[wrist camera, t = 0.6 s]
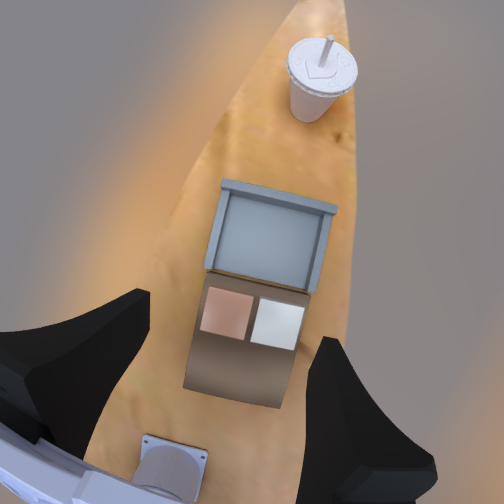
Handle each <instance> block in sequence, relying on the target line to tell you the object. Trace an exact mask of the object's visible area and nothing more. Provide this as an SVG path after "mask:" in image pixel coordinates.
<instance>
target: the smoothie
mask: <svg viewBox="0 0 504 504" xmlns="http://www.w3.org/2000/svg"><path fill="white" fill-rule="evenodd" d="M334 39H335V37H334V36H332V35H328V37H327V39H325V38H307V39H304V40H301V41H299V42H297V43H296V44H295V45H294V46H293V47H292V48H291V50H290V52H289V55H288V58H287V61H286V65H287V71H288V74H289V76H290V110H291V113H292V115H293V116H294V117H295V118H296V119H298V120H299V121H301V122H305V123H311V122H315V121H316V120H318V119H319V118H320V117H321V116H322V115H323V114H324V112H325V111H326V110H327V109H328V108H329V107H330V106H331V105H332V104H333V103H334V102H335V100H336V99H337V98H338V97H339V96H340V95H343V94H345V93H347V92H348V91H349V90H350V89H351V88H352V87H353V85H354V83H355V80H356V78H357V74H358V68H357V64H356V61H355V59H354V57H353V56H352V54H351V53H350V52H349V51H348V50H347V49H346V48H345V47H343V46H342V45H340V44H339V43H337V42H334Z"/></svg>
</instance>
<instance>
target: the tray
mask: <svg viewBox="0 0 504 504" xmlns="http://www.w3.org/2000/svg"><path fill="white" fill-rule="evenodd" d="M221 189H222V191H221V195H220V199H219V203H218V207H217V211H216V215H215V219H214V224H213V228H212V232H211V236H210V240H209V245H208V249H207V253H206V258H205V262H204V266H203V268H206V269H210V270H212V269H214V268H215V269H219V270H223V271H227V272H232V273H236V274H240V275H245V276H249V277H253V278H258V279H262V280H266V281H271V282H275V283H280V284H284V285H289V286H293V287H298V288H302V289H303V290H305V291H307V292H311V293H316V289H317V285H318V280H319V276H320V272H321V267H322V263H323V258H324V254H325V249H326V245H327V240H328V235H329V230H330V225H331V220H332V216H333V215H335V214H336V213H337V208H338V206H337V205H334V204H330V203H326V202H322V201H318V200H315V199H311V198H307V197H303V196H299V195H295V194H291V193H286V192H282V191H278V190H274V189H270V188H265V187H261V186H257V185H252V184H248V183H243V182H239V181H234V180H230V179H225V178H223V179H222V183H221Z"/></svg>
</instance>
